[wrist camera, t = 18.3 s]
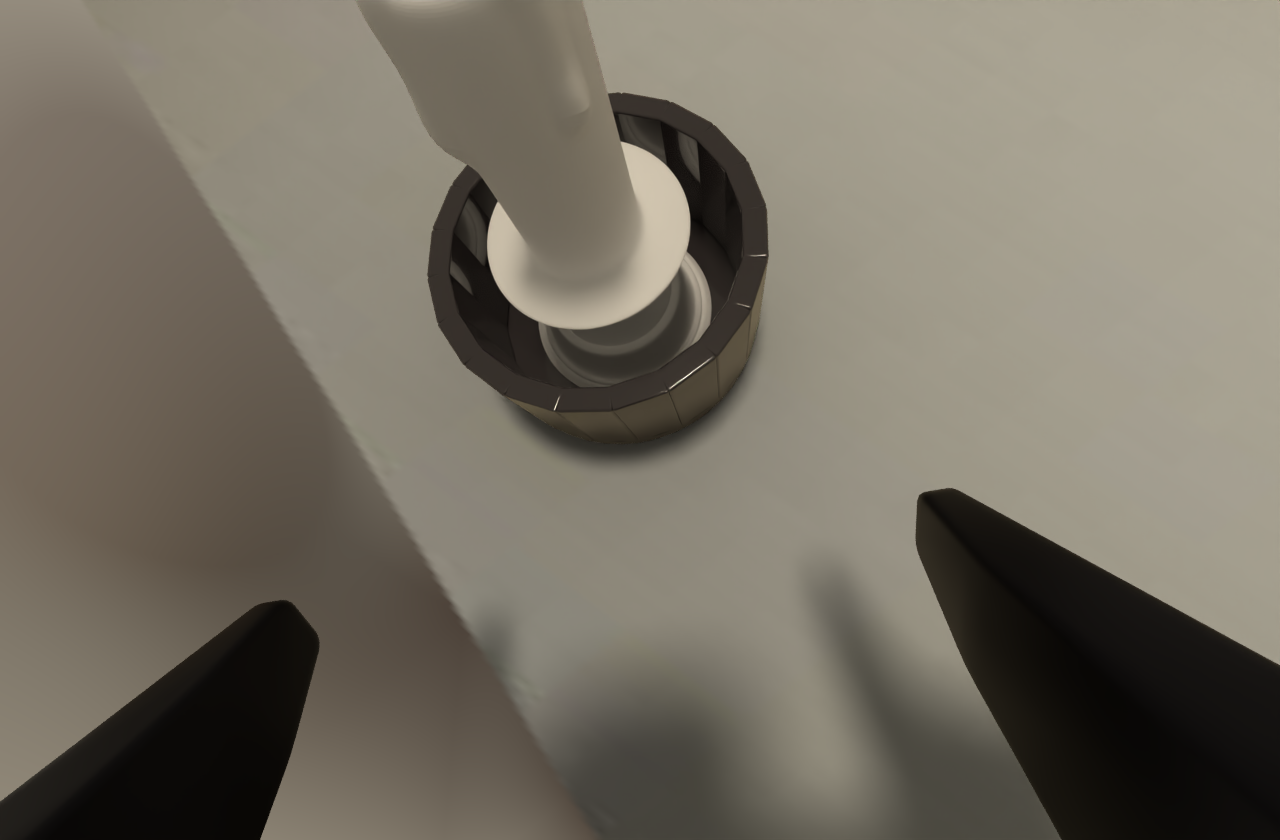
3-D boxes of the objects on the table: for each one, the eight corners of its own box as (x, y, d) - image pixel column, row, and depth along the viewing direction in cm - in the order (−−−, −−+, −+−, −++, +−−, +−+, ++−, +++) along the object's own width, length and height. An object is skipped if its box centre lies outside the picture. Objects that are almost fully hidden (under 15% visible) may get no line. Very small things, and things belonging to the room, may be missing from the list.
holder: (650, 500, 17) (622, 485, 12) (448, 348, 19) (363, 290, 14) (812, 277, 17) (840, 189, 13) (600, 155, 19) (564, 43, 15)
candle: (605, 433, 17) (322, 182, 5) (508, 304, 18) (110, -127, 6) (748, 322, 17) (797, -181, 5) (641, 202, 18) (485, -411, 6)
